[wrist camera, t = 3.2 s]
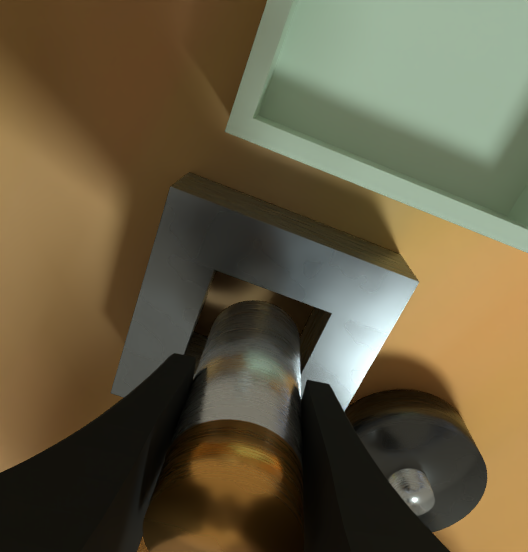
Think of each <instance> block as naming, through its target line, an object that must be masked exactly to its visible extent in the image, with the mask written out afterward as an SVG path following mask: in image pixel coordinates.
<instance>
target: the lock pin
mask: <svg viewBox="0 0 528 552" xmlns="http://www.w3.org/2000/svg"><path fill="white" fill-rule="evenodd" d="M142 530H143V538H144V541H145V544H146V546H147V549H148V551H149V552H303V550H304V511H303V466H302V421H301V375H300V338H299V332H298V329H297V327H296V325H295V323H294V321H293V320H292V318H291V317H290V316H289V315H288V314H287V313H286V312H285V311H283V310H282V309H280V308H279V307H277V306H275V305H273V304H270V303H267V302H263V301H254V300H252V301H243V302H239V303H236V304H233V305H231V306H229V307H228V308H226V309H225V310H223V311H222V312H221V313H220V314H219V315H218V316H217V318H216V319H215V321H214V323H213V325H212V328H211V331H210V334H209V336H208V339H207V342H206V345H205V348H204V351H203V353H202V356H201V359H200V362H199V365H198V367H197V370H196V373H195V376H194V379H193V382H192V384H191V387H190V390H189V393H188V396H187V398H186V401H185V404H184V407H183V410H182V412H181V415H180V418H179V421H178V424H177V427H176V429H175V432H174V435H173V438H172V441H171V443H170V446H169V449H168V452H167V455H166V457H165V460H164V463H163V466H162V469H161V472H160V474H159V477H158V480H157V483H156V486H155V488H154V491H153V494H152V497H151V500H150V502H149V505H148V508H147V511H146V514H145V517H144V520H143V528H142Z"/></svg>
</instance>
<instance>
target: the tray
mask: <svg viewBox="0 0 528 552" xmlns="http://www.w3.org/2000/svg"><path fill="white" fill-rule="evenodd" d="M225 132H227V133H229V134H232V135H234V136H237V137H239V138H242V139H244V140H247V141H249V142H252V143H254V144H257V145H259V146H262V147H264V148H267V149H269V150H272V151H274V152H277V153H279V154H282V155H284V156H287V157H289V158H292V159H294V160H297V161H299V162H302V163H304V164H307V165H309V166H312V167H314V168H317V169H319V170H322V171H324V172H327V173H329V174H332V175H334V176H337V177H339V178H342V179H344V180H347V181H349V182H352V183H354V184H357V185H359V186H362V187H364V188H367V189H369V190H372V191H374V192H377V193H379V194H382V195H384V196H387V197H389V198H392V199H394V200H397V201H399V202H402V203H404V204H407V205H409V206H412V207H414V208H417V209H419V210H422V211H424V212H427V213H429V214H432V215H434V216H437V217H439V218H442V219H444V220H447V221H449V222H452V223H454V224H457V225H459V226H462V227H464V228H467V229H469V230H472V231H474V232H477V233H479V234H482V235H484V236H487V237H489V238H492V239H494V240H497V241H499V242H502V243H504V244H507V245H509V246H512V247H514V248H517V249H519V250H522V251H524V252H527V253H528V0H267V3H266V6H265V9H264V12H263V15H262V18H261V22H260V25H259V28H258V31H257V34H256V37H255V40H254V43H253V46H252V49H251V52H250V55H249V59H248V62H247V65H246V68H245V71H244V74H243V77H242V80H241V83H240V86H239V89H238V93H237V96H236V99H235V102H234V105H233V108H232V111H231V114H230V117H229V120H228V123H227V126H226V130H225Z"/></svg>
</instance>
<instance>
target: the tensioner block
mask: <svg viewBox="0 0 528 552" xmlns="http://www.w3.org/2000/svg"><path fill="white" fill-rule="evenodd" d="M216 271H219V272H222V273H225V274H227V275H230V276H233V277H235V278H238V279H241V280H243V281H246V282H249V283H252V284H254V285H257V286H260V287H262V288H265V289H268V290H270V291H273V292H276V293H279V294H281V295H284V296H287V297H289V298H292V299H295V300H297V301H300V302H303V303H306V304H308V305H311V306H314V309H313V311H312V313H311V315H310V317H309V319H308V321H307V323H306V326H305V328H304V330H303V332H302V334H301V336H300V375H301V399H302V395H303V392H304V388H305V385H306V381H307V380H312V381H317V382H322V383H327V384H330V386H331V388H332V389H333V391H334V393H335V395H336V397H337V399H338V401H339V403H340V405H341V406H342V408H343V410H344V412H345V414H346V416H347V417H348V419H349V421H350V423H351V424H352V426H353V428H354V430H355V431H356V433H357V434H358V436H359V438H360V439H361V441H362V443H363V444H364V446H365V448H366V449H367V451H368V452H369V454H370V455H371V457H372V458H373V460H374V461H375V463H376V464H377V466H378V467H379V469H380V470H381V472H382V473H383V474H384V476H385V477H386V479H387V480H388V481H389V483H390V484H391V485H392V486H393V488H394V489H395V490H396V491H397V493H398V494H399V495H400V496H401V498H402V499H403V500H404V501H405V503H406V504H407V505H408V506H409V508H410V509H411V510H412V511H413V512H414V513H415V514H416V516H417V517H418V518H419V519H420V520H421V521H422V522H423V524H424V525H425V526H426V527H427V528H428V529H429V530H430V531H431V532H435V531H439V530H441V529H444V528H446V527H449V526H450V525H452V524H454V523H456V522H458V521H459V520H461V519H462V518H464V517H465V516H466V515H467V514H469V513H470V512H471V511H472V510H473V509H474V508H475V507H476V505H477V504H478V502H479V501H480V499H481V497H482V496H483V494H484V491H485V488H486V483H487V470H486V465H485V462H484V460H483V458H482V456H481V454H480V452H479V450H478V448H477V446H476V444H475V442H474V440H473V439H472V437H471V435H470V433H469V431H468V429H467V427H466V425H465V423H464V421H463V420H462V418H461V417H460V415H459V414H458V412H457V411H456V410H455V409H454V408H453V407H452V406H450V405H449V404H448V403H447V402H445V401H443V400H442V399H440V398H438V397H436V396H433V395H431V394H428V393H424V392H420V391H414V390H390V391H383V392H379V393H375V394H372V395H370V396H367V397H364V398H363V399H361V400H359V401H357V402H355V403H354V404H352V405H351V406H349V407H348V408H347V406H348V404H349V403H350V401H351V399H352V397H353V396H354V394H355V392H356V390H357V389H358V387H359V385H360V384H361V382H362V380H363V378H364V377H365V375H366V373H367V371H368V370H369V368H370V366H371V364H372V363H373V361H374V359H375V358H376V356H377V354H378V352H379V351H380V349H381V347H382V345H383V344H384V342H385V340H386V339H387V337H388V335H389V333H390V332H391V330H392V328H393V326H394V325H395V323H396V321H397V320H398V318H399V316H400V314H401V313H402V311H403V309H404V307H405V306H406V304H407V302H408V300H409V299H410V297H411V295H412V294H413V292H414V290H415V288H416V287H417V285H418V283H419V281H418V279H417V278H416V276H415V275H414V274H413V272H412V271H411V269H410V268H409V266H408V265H407V263H406V262H405V260H404V259H403V257H402V256H401V254H399V253H396V252H393V251H391V250H388V249H386V248H383V247H381V246H378V245H375V244H373V243H370V242H368V241H365V240H363V239H360V238H357V237H355V236H352V235H350V234H347V233H344V232H342V231H339V230H337V229H334V228H332V227H329V226H326V225H324V224H321V223H319V222H316V221H314V220H311V219H308V218H306V217H303V216H301V215H298V214H296V213H293V212H290V211H288V210H285V209H283V208H280V207H278V206H275V205H272V204H270V203H267V202H265V201H262V200H260V199H257V198H254V197H252V196H249V195H247V194H244V193H242V192H239V191H236V190H234V189H231V188H229V187H226V186H224V185H221V184H218V183H216V182H213V181H211V180H208V179H206V178H203V177H200V176H198V175H195V174H193V173H190V172H189V173H188V174H186V175H185V176H184V177H182V178H181V179H180V180H178V181H177V182H176V183H174V184H173V185H172V186H170V190H169V193H168V197H167V200H166V203H165V207H164V210H163V214H162V217H161V221H160V224H159V228H158V231H157V235H156V238H155V241H154V245H153V248H152V252H151V255H150V259H149V262H148V266H147V269H146V273H145V276H144V279H143V283H142V286H141V290H140V293H139V297H138V300H137V304H136V307H135V311H134V314H133V318H132V321H131V324H130V328H129V331H128V335H127V338H126V342H125V345H124V349H123V352H122V356H121V359H120V362H119V366H118V369H117V373H116V376H115V380H114V383H113V387H112V390H111V393H112V394H115V395H118V396H121V397H125V396H127V395H128V394H129V393H130V392H131V391H132V390H134V389H135V388H136V387H137V386H138V385H139V384H141V383H142V382H143V381H144V380H145V379H146V378H147V377H149V376H150V375H151V374H152V373H153V372H154V371H155V370H156V369H157V368H158V367H159V366H160V365H161V364H162V363H163V362H164V361H165V360H166V359H167V358H168V357H169V356H170V355H172V354H174V353H177V354H182V355H187V356H192V357H197V358H196V364H195V371H194V376H195V373H196V370H197V367H198V365H199V362H200V359H201V356H202V353H203V351H204V348H205V345H206V342H207V339H208V337H206V336H203V335H200V334H197V333H195V332H194V330H195V327H196V325H197V322H198V319H199V316H200V313H201V311H202V308H203V305H204V302H205V300H206V297H207V294H208V291H209V289H210V286H211V283H212V280H213V278H214V275H215V272H216ZM193 379H194V377H193ZM346 408H347V409H346ZM345 409H346V410H345Z"/></svg>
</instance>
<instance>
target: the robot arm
mask: <svg viewBox="0 0 528 552" xmlns="http://www.w3.org/2000/svg"><path fill="white" fill-rule="evenodd" d="M196 358H197V357H192V356H187V355H182V354H177V353H174V354H172V355H170V356H169V357H168V358H167V359H166V360H165V361H164V362H163V363H162V364H161V365H160V366H159V367H158V368H157V369H156V370H155V371H154V372H153V373H152V374H151V375H150V376H149V377H147V378H146V379H145V380H144V381H143V382H142V383H141V384H139V385H138V386H137V387H136V388H135V389H134V390H132V391H131V392H130V393H129V394H128V395H127V396H125V397H124V398H123V399H122V400H120V401H119V402H118V403H116V404H115V405H114V406H112V407H111V408H110V409H108V410H107V411H106V412H104V413H103V414H102V415H100V416H99V417H98V418H96V419H95V420H93V421H92V422H90V423H89V424H87V425H86V426H84V427H83V428H81V429H80V430H78V431H77V432H75V433H73V434H72V435H70V436H69V437H67V438H65V439H64V440H62V441H60V442H59V443H57V444H55V445H53V446H52V447H50V448H48V449H46V450H45V451H43V452H41V453H39V454H37V455H35V456H34V457H32V458H30V459H28V460H26V461H24V462H22V463H20V464H18V465H16V466H14V467H12V468H10V469H7V470H5V471H3V472H1V473H0V552H137V550H138V547H139V544H140V541H141V539H142V536H143V530H142V528H143V520H144V517H145V514H146V511H147V508H148V505H149V502H150V500H151V497H152V494H153V491H154V488H155V486H156V483H157V480H158V477H159V474H160V472H161V469H162V466H163V463H164V460H165V457H166V455H167V452H168V449H169V446H170V443H171V441H172V438H173V435H174V432H175V429H176V427H177V424H178V421H179V418H180V415H181V412H182V410H183V407H184V404H185V401H186V398H187V396H188V393H189V390H190V387H191V384H192V382H193V377H194V371H195V364H196ZM301 421H302V466H303V511H304V550H303V552H450V551H449V550H448V549H447V548H446V547H445V546H444V545H443V544H442V543H441V542H440V541H439V540H438V539H437V537H436V536H435V535H434V534H433V533H432V532H431V531H430V530H429V529H428V528H427V527H426V526H425V525H424V524H423V522H422V521H421V520H420V519H419V518H418V517H417V516H416V514H415V513H414V512H413V511H412V510H411V509H410V508H409V506H408V505H407V504H406V503H405V501H404V500H403V499H402V498H401V496H400V495H399V494H398V493H397V491H396V490H395V489H394V488H393V486H392V485H391V484H390V483H389V481H388V480H387V479H386V477H385V476H384V474H383V473H382V472H381V470H380V469H379V467H378V466H377V464H376V463H375V461H374V460H373V458H372V457H371V455H370V454H369V452H368V451H367V449H366V448H365V446H364V444H363V443H362V441H361V439H360V438H359V436H358V434H357V433H356V431H355V430H354V428H353V426H352V424H351V423H350V421H349V419H348V417H347V416H346V414H345V412H344V410H343V408H342V406H341V405H340V403H339V401H338V399H337V397H336V395H335V393H334V391H333V389H332V388H331V386H330V384H327V383H322V382H317V381H312V380H307V381H306V385H305V388H304V392H303V395H302V399H301Z"/></svg>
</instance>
